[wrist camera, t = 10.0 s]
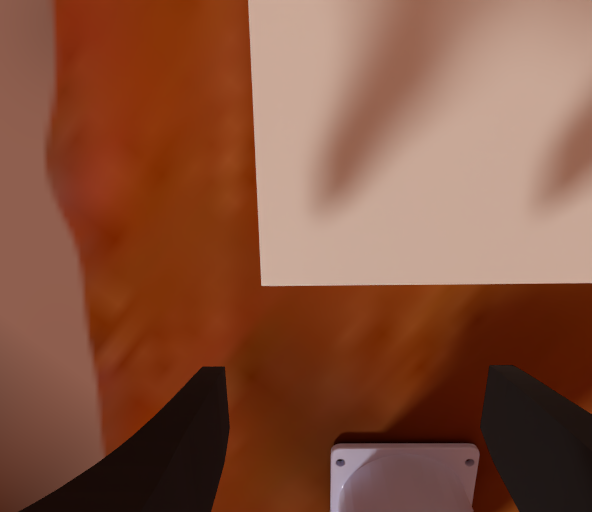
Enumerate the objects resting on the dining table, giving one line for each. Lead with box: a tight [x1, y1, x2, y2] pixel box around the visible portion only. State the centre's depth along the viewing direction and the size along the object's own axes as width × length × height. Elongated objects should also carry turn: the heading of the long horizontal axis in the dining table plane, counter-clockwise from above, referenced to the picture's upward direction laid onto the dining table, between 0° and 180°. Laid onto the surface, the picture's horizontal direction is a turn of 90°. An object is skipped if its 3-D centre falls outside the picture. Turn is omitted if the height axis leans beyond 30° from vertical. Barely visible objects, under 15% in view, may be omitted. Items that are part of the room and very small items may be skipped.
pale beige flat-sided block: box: [248, 0, 592, 286], centre depth 17 cm, size 10×22×4 cm, turn 91°
